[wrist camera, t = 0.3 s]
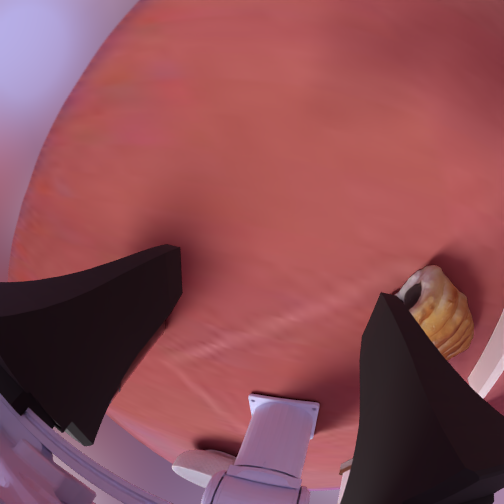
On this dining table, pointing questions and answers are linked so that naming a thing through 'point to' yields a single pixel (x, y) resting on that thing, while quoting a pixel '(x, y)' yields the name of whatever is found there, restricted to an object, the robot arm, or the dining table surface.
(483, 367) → the white rectangular bar
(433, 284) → the pastry
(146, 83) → the dining table surface
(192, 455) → the cereal bowl
